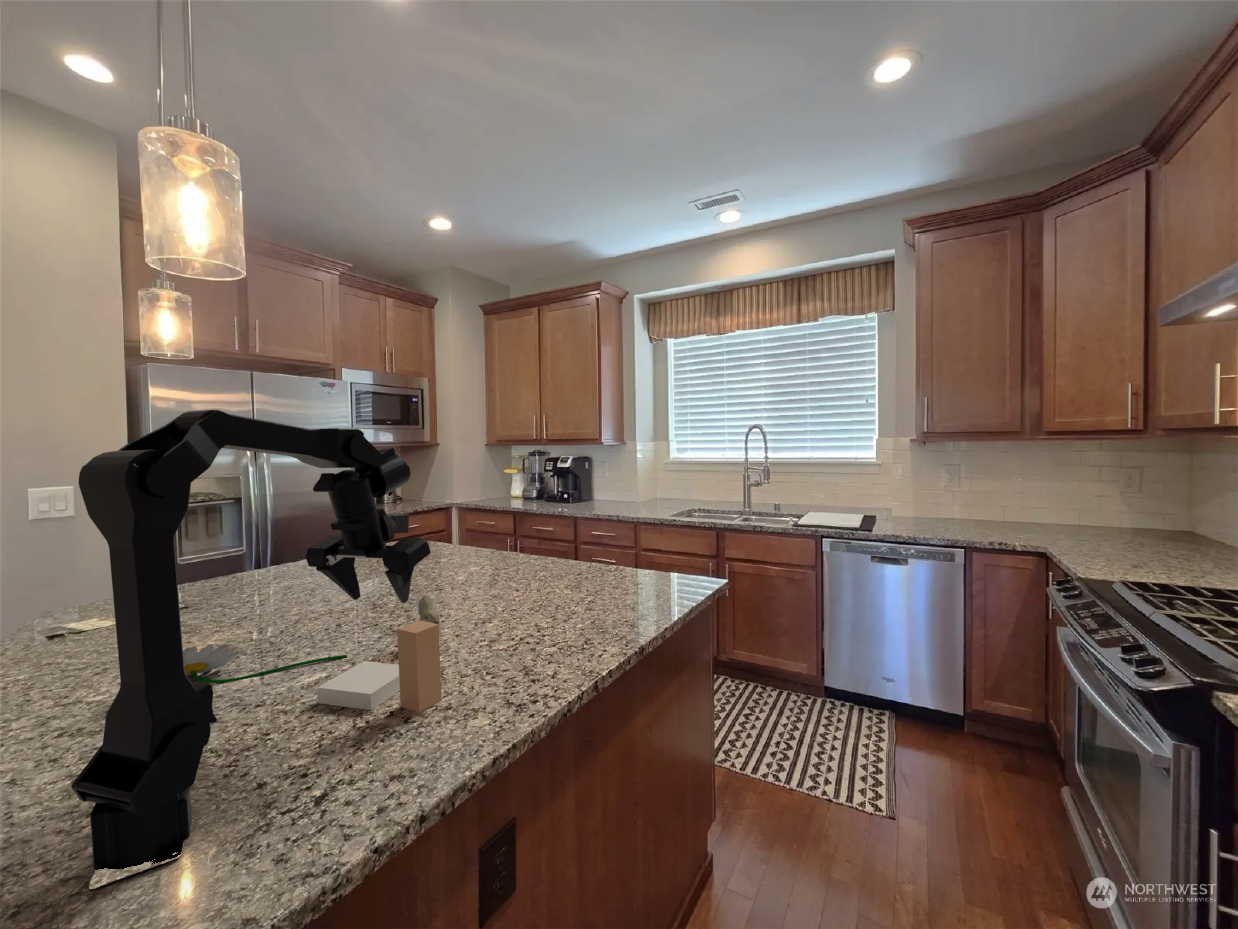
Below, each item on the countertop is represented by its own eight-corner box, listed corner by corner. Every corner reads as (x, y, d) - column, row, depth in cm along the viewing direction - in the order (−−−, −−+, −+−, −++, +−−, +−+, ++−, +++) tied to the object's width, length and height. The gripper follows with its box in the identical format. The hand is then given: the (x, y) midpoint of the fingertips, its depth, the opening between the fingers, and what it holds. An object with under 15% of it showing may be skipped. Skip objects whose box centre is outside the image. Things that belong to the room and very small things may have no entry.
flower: (349, 631, 96) (136, 646, 83) (347, 662, 93) (126, 682, 80) (347, 650, 106) (156, 665, 92) (345, 678, 103) (148, 699, 90)
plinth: (371, 710, 79) (370, 694, 78) (318, 703, 81) (317, 687, 81) (414, 680, 88) (413, 666, 88) (365, 675, 91) (364, 661, 91)
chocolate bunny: (410, 652, 101) (408, 601, 100) (410, 638, 108) (408, 591, 108) (441, 647, 103) (438, 597, 102) (438, 634, 110) (436, 587, 110)
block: (419, 712, 77) (415, 633, 77) (400, 706, 80) (397, 629, 79) (441, 700, 81) (438, 624, 81) (423, 694, 83) (419, 620, 83)
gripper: (440, 490, 83) (459, 576, 88) (345, 490, 88) (368, 572, 93) (394, 519, 73) (419, 615, 78) (290, 517, 78) (319, 607, 83)
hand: (381, 600), depth 83 cm, fingers open, 9 cm apart
